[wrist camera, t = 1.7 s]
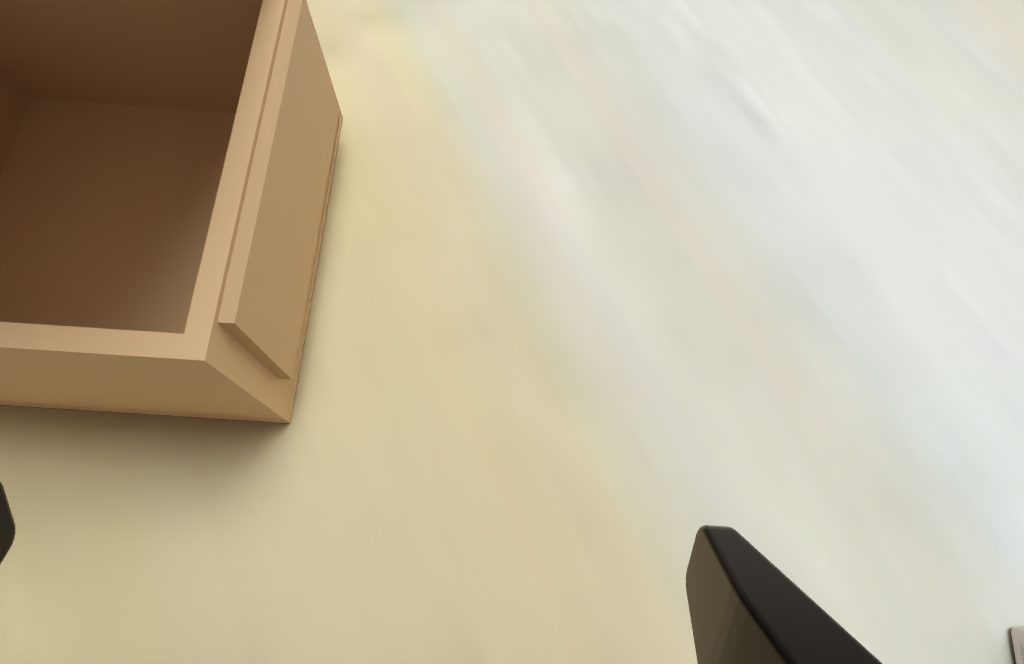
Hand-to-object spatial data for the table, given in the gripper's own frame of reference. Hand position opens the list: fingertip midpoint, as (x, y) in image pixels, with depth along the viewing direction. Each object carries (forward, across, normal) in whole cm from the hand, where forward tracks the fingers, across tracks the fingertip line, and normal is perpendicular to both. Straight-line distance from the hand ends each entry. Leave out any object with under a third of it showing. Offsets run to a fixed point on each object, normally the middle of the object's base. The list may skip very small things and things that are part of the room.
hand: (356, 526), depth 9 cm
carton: (+16, +11, +2) cm, 19 cm away
